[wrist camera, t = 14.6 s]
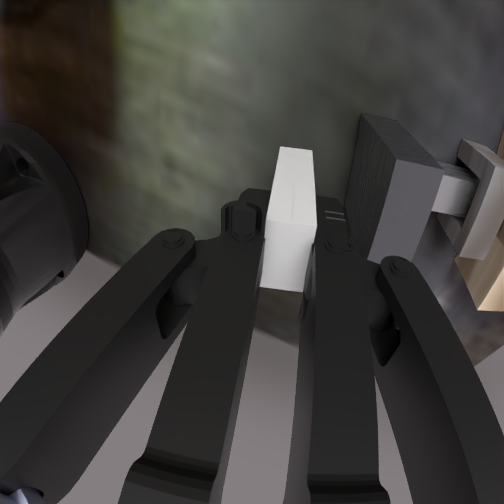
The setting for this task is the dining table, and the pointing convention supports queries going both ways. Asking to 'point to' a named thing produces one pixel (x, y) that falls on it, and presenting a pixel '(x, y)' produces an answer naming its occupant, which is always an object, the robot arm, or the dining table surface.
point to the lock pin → (399, 190)
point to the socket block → (481, 227)
